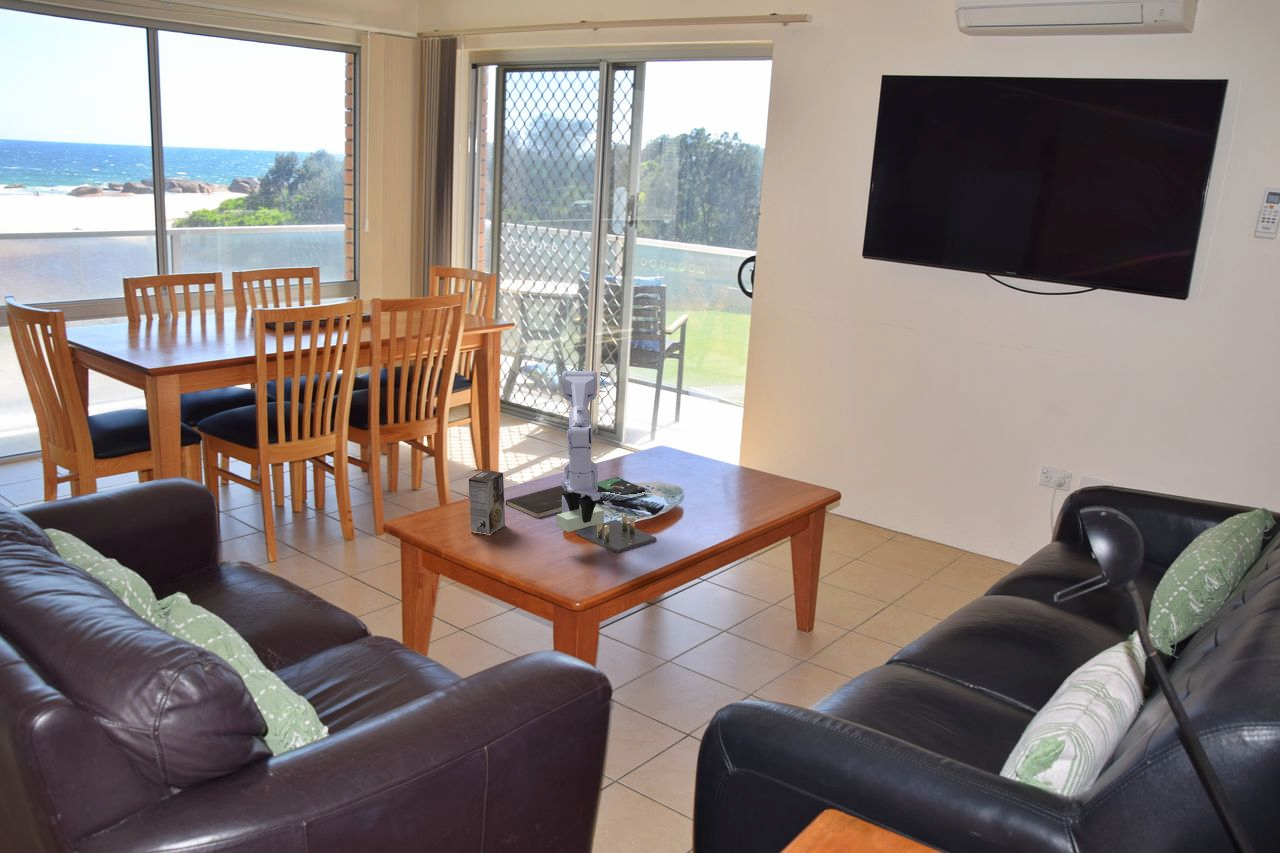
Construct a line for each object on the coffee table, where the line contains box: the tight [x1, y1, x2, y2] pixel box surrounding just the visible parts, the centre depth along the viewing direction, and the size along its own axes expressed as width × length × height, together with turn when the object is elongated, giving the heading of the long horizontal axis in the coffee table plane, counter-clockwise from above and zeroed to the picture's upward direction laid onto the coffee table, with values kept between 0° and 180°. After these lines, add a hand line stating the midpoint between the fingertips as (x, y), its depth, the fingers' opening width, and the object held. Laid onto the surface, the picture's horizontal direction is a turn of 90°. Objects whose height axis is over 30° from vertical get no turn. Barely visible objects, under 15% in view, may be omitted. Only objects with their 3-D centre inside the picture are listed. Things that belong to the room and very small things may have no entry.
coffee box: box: [468, 469, 506, 534], centre depth 290 cm, size 9×6×16 cm
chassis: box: [575, 514, 657, 554], centre depth 286 cm, size 18×14×5 cm
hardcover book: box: [505, 484, 565, 519], centre depth 314 cm, size 16×23×2 cm
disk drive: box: [597, 477, 646, 495], centre depth 324 cm, size 10×3×15 cm
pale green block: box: [556, 506, 605, 533], centre depth 277 cm, size 5×12×4 cm, turn 130°
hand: (580, 518), depth 277 cm, fingers closed on pale green block, 5 cm apart
